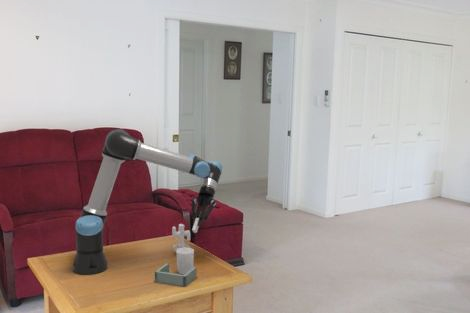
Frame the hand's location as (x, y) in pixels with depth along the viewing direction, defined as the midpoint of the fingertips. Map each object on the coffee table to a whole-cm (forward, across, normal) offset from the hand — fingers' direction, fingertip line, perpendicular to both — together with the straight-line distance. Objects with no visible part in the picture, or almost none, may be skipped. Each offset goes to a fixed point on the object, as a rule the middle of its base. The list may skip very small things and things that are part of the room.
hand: (194, 231), depth 222 cm
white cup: (+18, 0, -5) cm, 19 cm away
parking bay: (+25, 0, +2) cm, 25 cm away
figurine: (+3, +13, -20) cm, 24 cm away
